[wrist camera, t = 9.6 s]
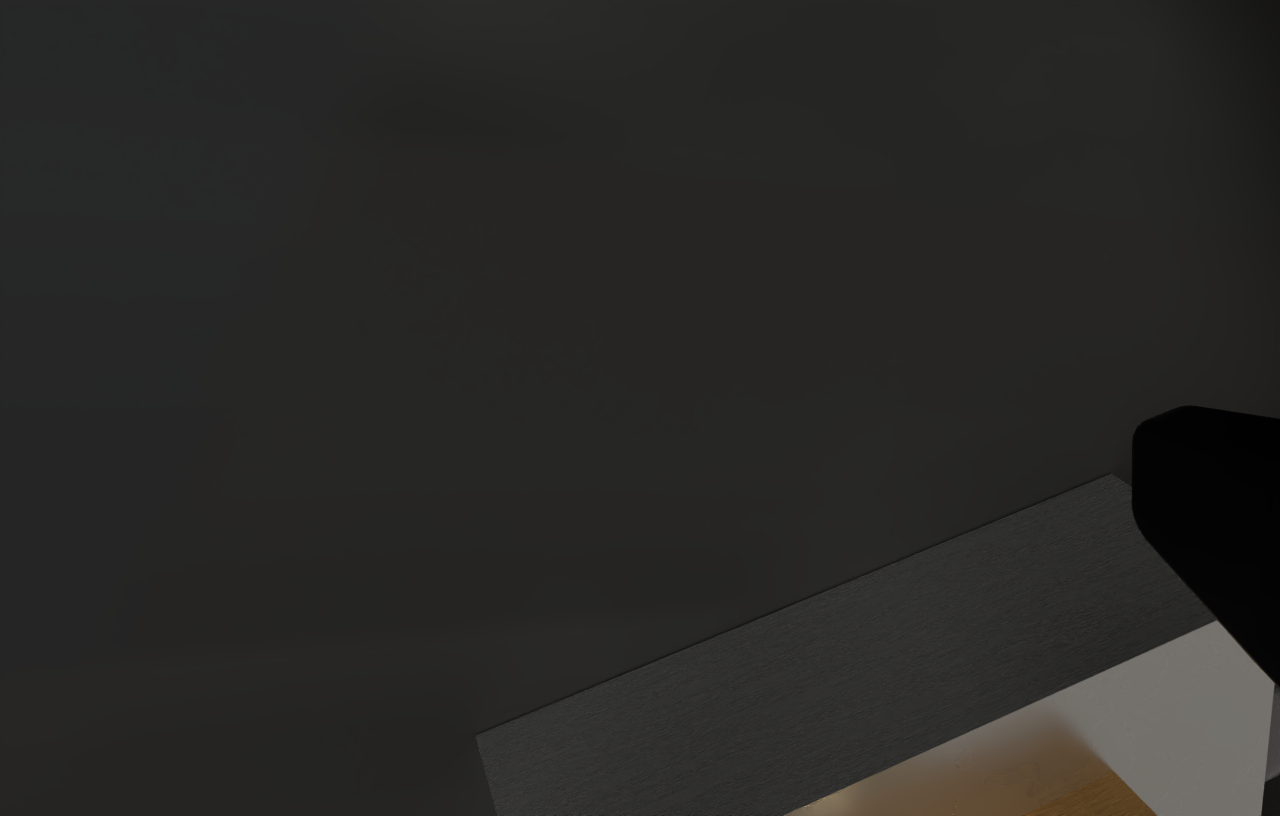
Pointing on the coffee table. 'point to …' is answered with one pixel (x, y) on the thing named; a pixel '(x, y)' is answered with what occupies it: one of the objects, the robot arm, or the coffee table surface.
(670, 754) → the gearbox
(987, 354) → the coffee table surface
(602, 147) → the coffee table surface
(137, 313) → the coffee table surface
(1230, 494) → the robot arm
